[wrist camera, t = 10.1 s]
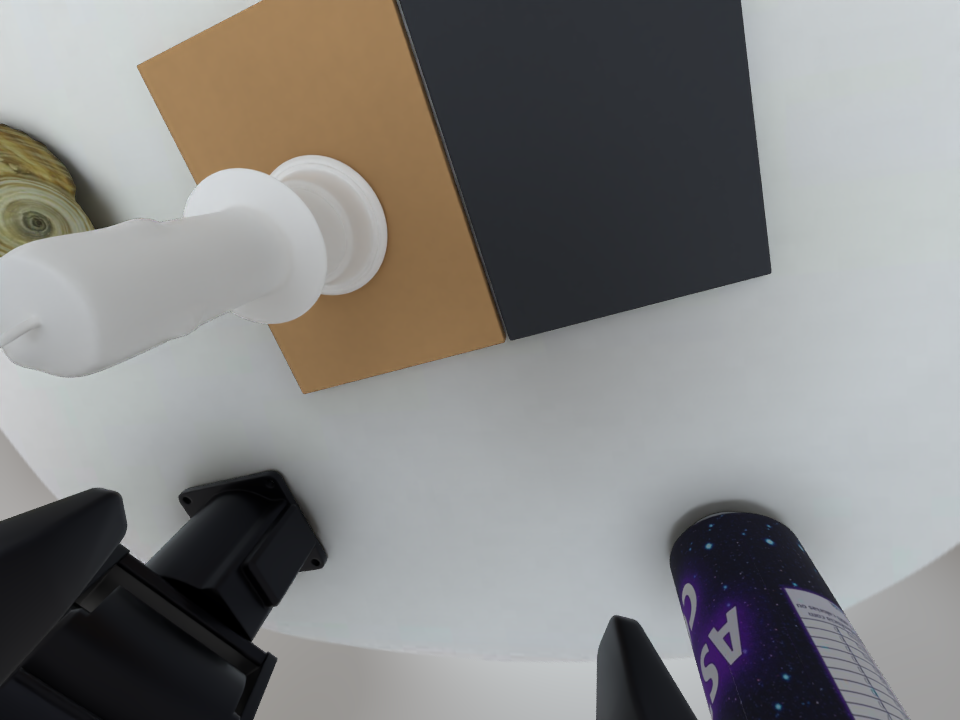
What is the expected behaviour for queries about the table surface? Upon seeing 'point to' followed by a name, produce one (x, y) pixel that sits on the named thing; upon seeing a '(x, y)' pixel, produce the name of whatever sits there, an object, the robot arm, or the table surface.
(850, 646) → the beverage can
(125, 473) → the table surface
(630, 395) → the table surface
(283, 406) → the table surface
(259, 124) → the sorting mat
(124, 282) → the candle
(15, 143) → the seashell
